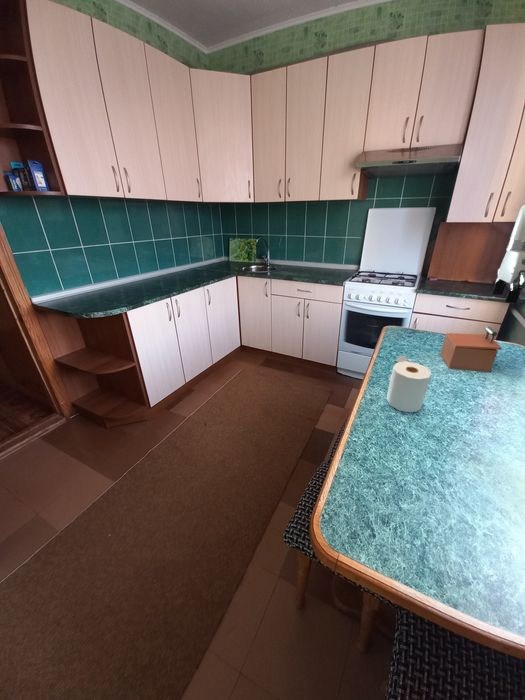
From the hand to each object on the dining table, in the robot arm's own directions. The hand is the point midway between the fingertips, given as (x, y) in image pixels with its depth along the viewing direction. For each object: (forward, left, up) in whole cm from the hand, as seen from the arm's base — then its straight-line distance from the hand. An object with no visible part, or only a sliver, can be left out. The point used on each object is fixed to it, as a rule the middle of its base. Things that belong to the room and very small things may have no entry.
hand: (503, 298), depth 100 cm
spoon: (+31, +11, -26) cm, 42 cm away
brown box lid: (+5, 0, -17) cm, 18 cm away
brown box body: (+5, 0, -26) cm, 27 cm away
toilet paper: (+32, +32, -26) cm, 53 cm away
